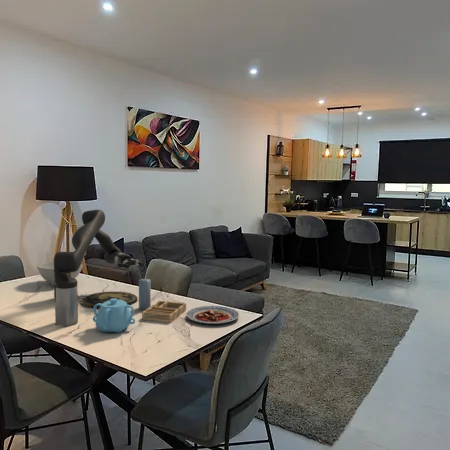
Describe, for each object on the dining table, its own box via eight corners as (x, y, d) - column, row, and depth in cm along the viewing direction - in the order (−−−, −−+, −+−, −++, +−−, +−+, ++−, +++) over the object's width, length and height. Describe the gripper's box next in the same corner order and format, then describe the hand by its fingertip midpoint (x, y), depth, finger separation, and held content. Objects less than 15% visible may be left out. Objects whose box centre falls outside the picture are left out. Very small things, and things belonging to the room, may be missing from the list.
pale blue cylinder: (147, 310, 209) (147, 281, 208) (136, 309, 211) (136, 280, 209) (152, 307, 215) (152, 279, 213) (142, 306, 216) (142, 278, 215)
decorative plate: (127, 307, 208) (70, 304, 211) (127, 311, 209) (70, 308, 211) (144, 292, 238) (94, 290, 241) (144, 295, 238) (94, 293, 241)
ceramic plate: (217, 331, 182) (217, 325, 182) (175, 319, 198) (175, 313, 198) (249, 317, 203) (249, 311, 203) (209, 306, 218) (209, 301, 218)
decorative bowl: (74, 276, 279) (74, 259, 278) (89, 284, 258) (89, 265, 257) (32, 282, 262) (31, 263, 261) (45, 291, 241) (44, 271, 240)
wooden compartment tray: (171, 322, 192) (171, 315, 192) (142, 319, 196) (142, 312, 195) (186, 310, 211) (186, 303, 211) (159, 307, 215) (159, 300, 215)
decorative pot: (91, 326, 186) (90, 297, 184) (125, 320, 194) (125, 292, 193) (100, 338, 172) (99, 306, 171) (137, 331, 180) (137, 301, 179)
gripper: (111, 255, 228) (123, 260, 215) (135, 252, 236) (147, 257, 223) (111, 268, 229) (123, 274, 216) (135, 265, 237) (147, 271, 224)
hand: (135, 265), depth 219 cm, fingers open, 8 cm apart
